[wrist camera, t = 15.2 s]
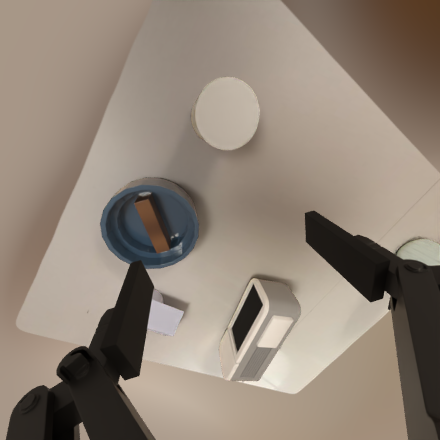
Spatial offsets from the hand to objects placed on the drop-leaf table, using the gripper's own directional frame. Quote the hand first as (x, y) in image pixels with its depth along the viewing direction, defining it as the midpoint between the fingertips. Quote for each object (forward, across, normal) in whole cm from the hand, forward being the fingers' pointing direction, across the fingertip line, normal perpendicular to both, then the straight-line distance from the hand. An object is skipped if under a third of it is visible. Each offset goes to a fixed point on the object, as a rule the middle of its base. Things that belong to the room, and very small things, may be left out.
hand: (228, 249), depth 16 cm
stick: (+26, -11, -6) cm, 29 cm away
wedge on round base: (+27, -20, -28) cm, 44 cm away
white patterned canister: (+27, +5, +9) cm, 29 cm away
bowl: (+27, -11, -6) cm, 29 cm away
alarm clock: (+27, +3, -41) cm, 49 cm away
